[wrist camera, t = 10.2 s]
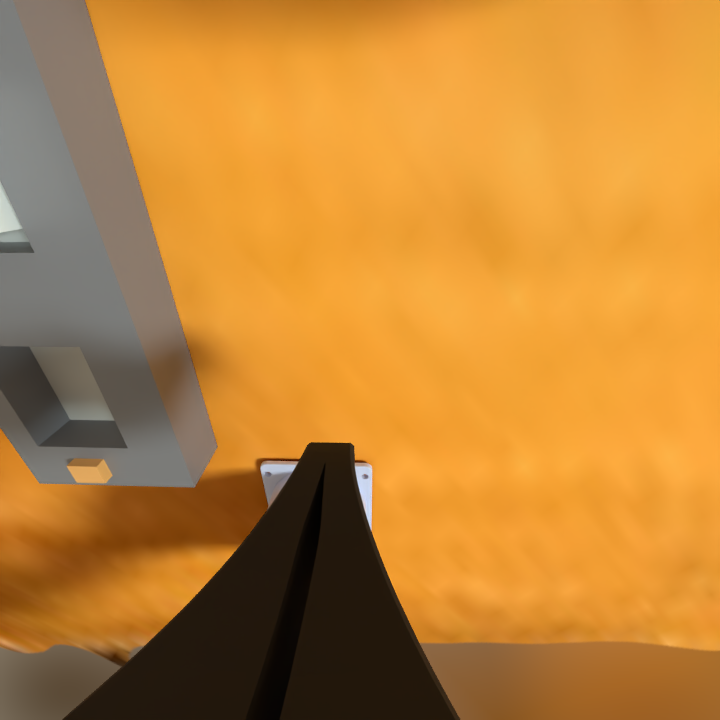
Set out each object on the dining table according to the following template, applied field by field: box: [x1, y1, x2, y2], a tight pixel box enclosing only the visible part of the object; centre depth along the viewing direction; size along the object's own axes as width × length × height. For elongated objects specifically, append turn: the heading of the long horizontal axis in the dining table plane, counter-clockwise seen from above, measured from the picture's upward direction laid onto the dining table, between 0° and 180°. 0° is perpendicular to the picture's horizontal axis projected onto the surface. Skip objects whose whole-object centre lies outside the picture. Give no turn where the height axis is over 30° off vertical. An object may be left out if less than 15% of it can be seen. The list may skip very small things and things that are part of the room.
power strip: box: [0, 0, 217, 487], centre depth 16 cm, size 24×10×4 cm, turn 0°
